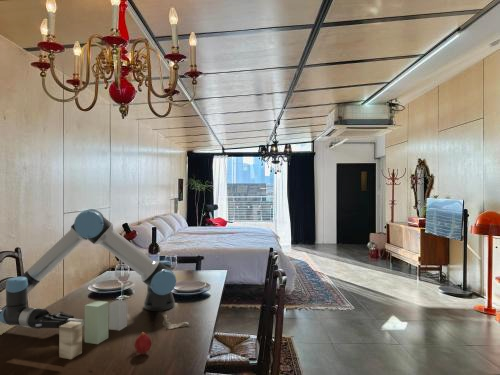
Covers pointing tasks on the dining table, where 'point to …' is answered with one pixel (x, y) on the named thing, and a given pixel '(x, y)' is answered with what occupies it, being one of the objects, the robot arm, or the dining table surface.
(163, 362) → the dining table surface
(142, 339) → the red pomegranate
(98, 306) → the pale green block
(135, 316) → the dining table surface
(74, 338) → the birch block
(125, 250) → the robot arm
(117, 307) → the grey block
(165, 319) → the jawbone
